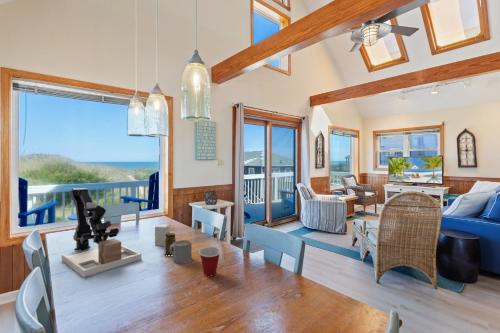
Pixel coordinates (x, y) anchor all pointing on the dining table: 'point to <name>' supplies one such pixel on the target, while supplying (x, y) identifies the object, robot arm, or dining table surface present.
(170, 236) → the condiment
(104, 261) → the walnut block
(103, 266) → the white recessed tray
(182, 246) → the coffee mug
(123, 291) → the dining table surface
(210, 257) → the plastic cup
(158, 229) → the supplement box
